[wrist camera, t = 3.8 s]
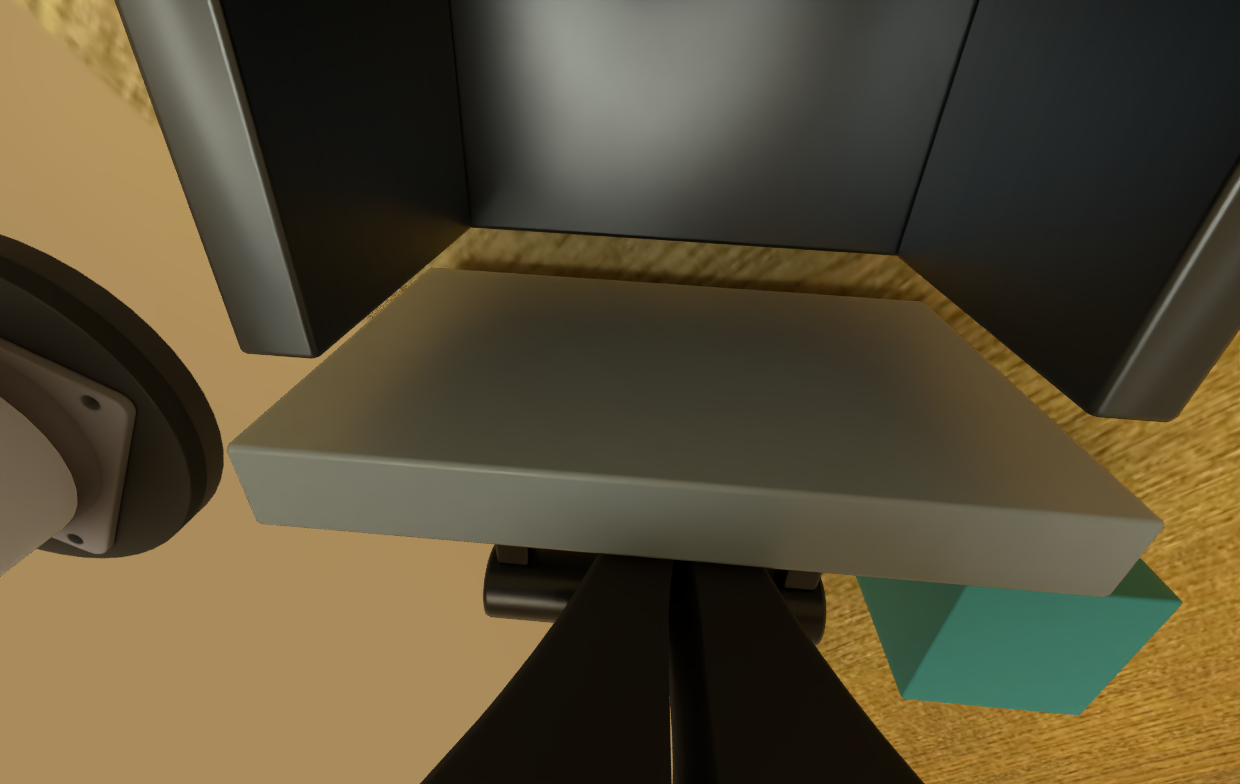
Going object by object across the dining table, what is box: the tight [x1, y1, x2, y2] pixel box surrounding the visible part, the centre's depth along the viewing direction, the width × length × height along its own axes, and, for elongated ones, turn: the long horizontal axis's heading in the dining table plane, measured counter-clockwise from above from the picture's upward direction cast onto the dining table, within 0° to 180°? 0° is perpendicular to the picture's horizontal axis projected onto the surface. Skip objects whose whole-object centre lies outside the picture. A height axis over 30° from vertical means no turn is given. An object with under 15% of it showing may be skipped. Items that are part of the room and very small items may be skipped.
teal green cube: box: [856, 558, 1182, 715], centre depth 13 cm, size 4×4×4 cm
